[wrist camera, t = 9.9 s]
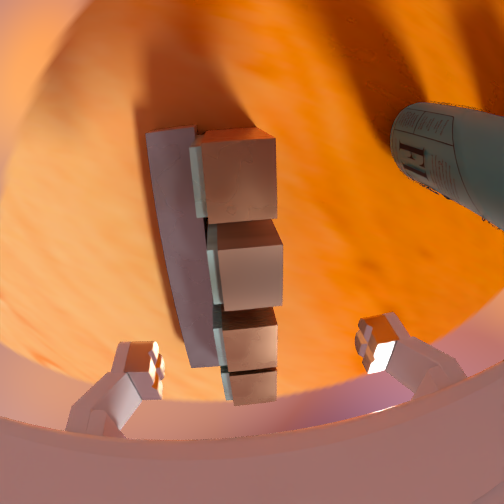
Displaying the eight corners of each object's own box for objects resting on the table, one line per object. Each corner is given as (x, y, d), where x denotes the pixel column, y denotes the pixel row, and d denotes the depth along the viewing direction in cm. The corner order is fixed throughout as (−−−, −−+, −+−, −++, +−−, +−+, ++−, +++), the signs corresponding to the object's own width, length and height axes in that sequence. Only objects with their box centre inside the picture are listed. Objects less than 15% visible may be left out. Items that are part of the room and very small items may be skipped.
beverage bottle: (362, 130, 20) (629, 263, 3) (415, 83, 19) (659, 143, 1) (403, 191, 23) (596, 350, 5) (450, 145, 21) (646, 249, 4)
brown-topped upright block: (208, 206, 22) (206, 251, 16) (263, 202, 22) (283, 244, 16) (213, 255, 24) (214, 312, 18) (264, 250, 24) (282, 305, 18)
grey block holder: (153, 130, 19) (123, 143, 13) (256, 119, 19) (275, 127, 13) (192, 349, 28) (190, 408, 22) (264, 343, 29) (276, 401, 22)
